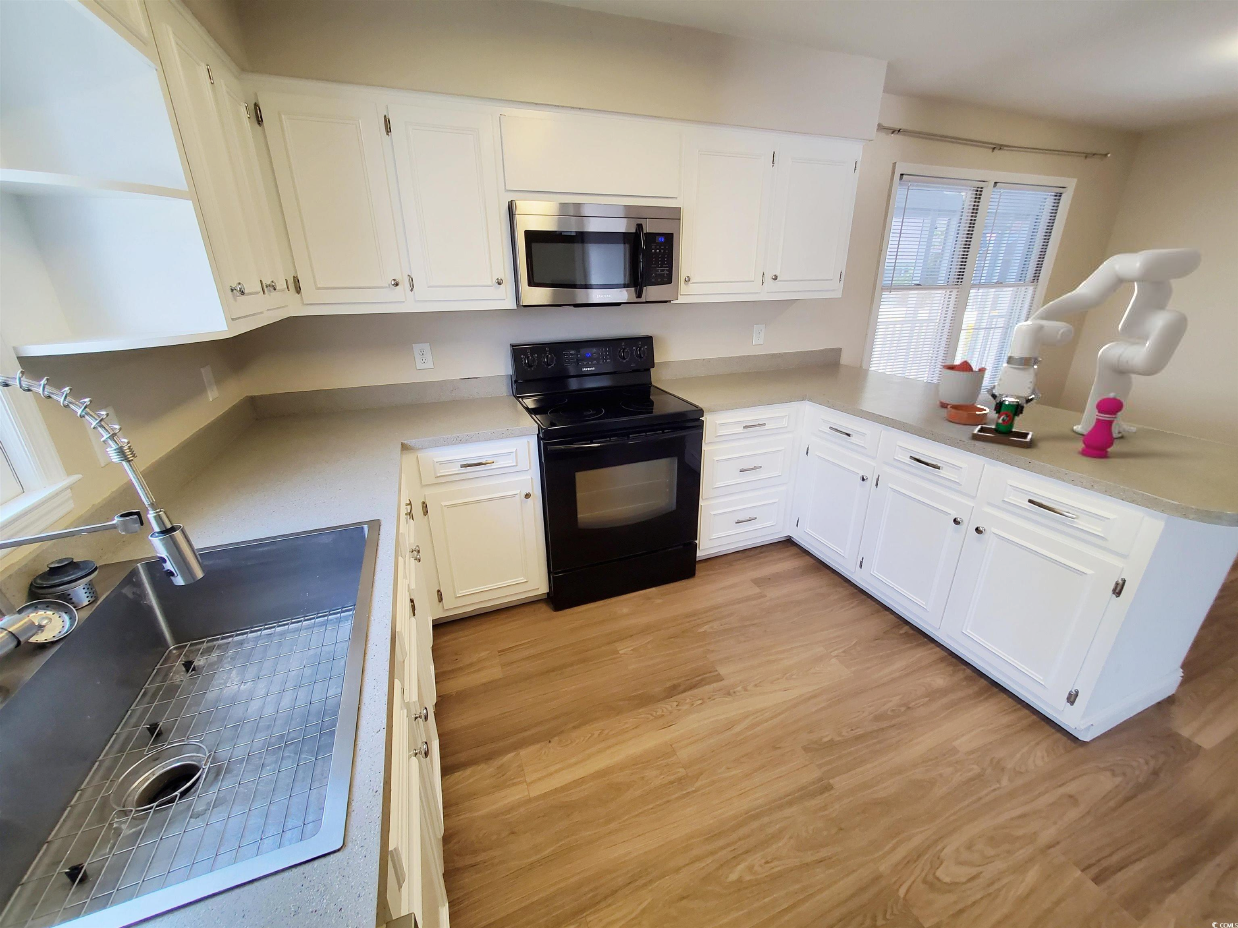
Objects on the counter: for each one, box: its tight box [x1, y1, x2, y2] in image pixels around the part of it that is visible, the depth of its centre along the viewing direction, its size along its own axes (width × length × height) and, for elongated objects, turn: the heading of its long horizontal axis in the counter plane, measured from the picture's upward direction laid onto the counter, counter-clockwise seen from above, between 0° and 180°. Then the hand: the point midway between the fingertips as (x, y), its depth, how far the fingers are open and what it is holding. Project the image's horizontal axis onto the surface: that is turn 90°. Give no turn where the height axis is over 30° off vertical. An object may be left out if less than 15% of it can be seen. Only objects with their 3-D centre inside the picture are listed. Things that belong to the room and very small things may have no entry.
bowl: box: [945, 404, 990, 426], centre depth 193 cm, size 13×13×5 cm
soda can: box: [994, 397, 1021, 435], centre depth 169 cm, size 5×5×12 cm
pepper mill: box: [1080, 393, 1123, 459], centre depth 153 cm, size 7×7×20 cm
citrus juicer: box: [938, 359, 987, 409], centre depth 210 cm, size 16×17×20 cm
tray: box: [971, 424, 1034, 449], centre depth 172 cm, size 16×12×3 cm
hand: (1007, 414), depth 169 cm, fingers closed on soda can, 5 cm apart
